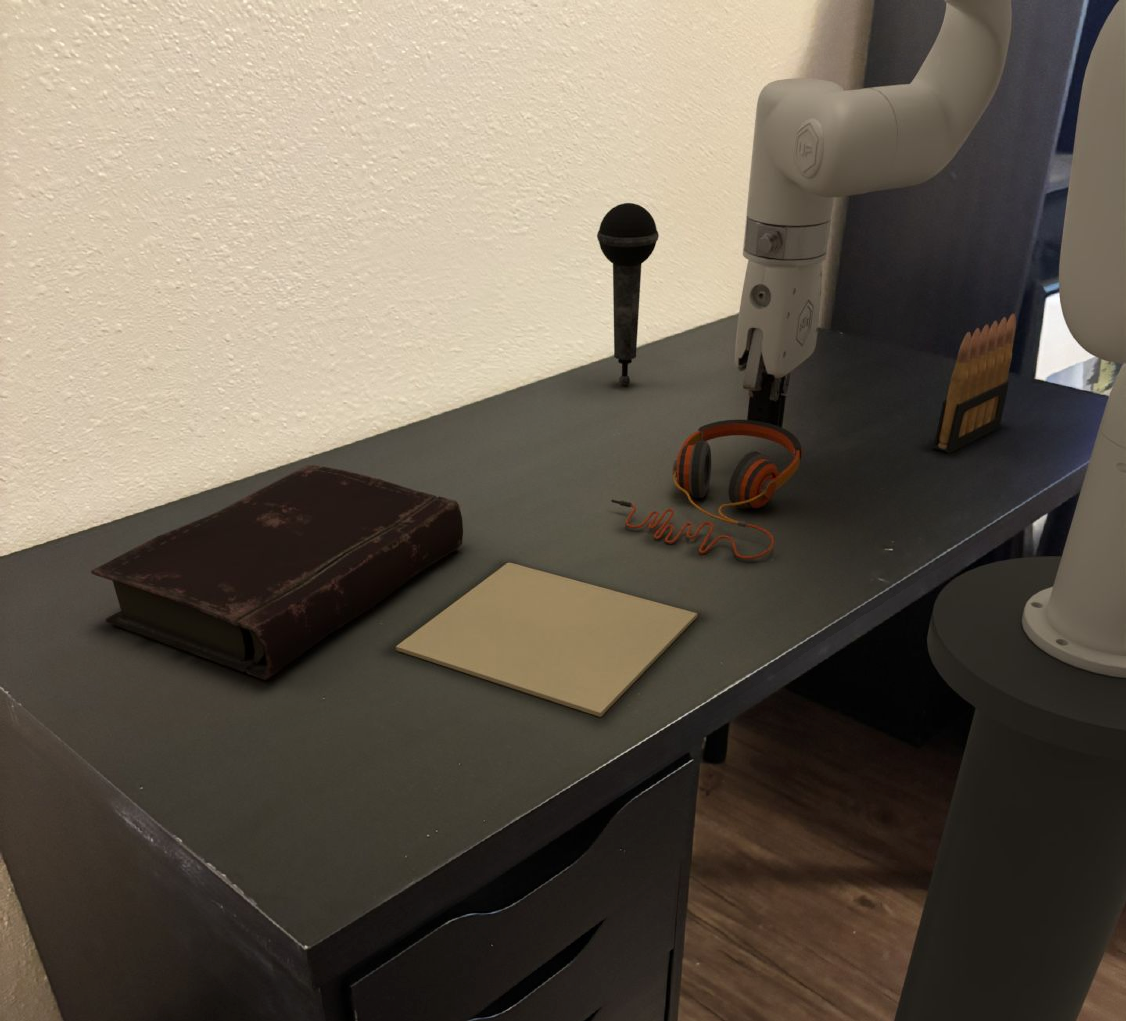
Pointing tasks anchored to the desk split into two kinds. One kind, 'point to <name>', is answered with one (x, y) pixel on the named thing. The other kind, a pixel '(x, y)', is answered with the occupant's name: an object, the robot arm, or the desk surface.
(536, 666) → the flat square board
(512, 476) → the desk surface
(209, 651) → the diary
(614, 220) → the microphone
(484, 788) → the desk surface
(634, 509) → the headphones
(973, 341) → the ammunition clip
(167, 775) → the desk surface
